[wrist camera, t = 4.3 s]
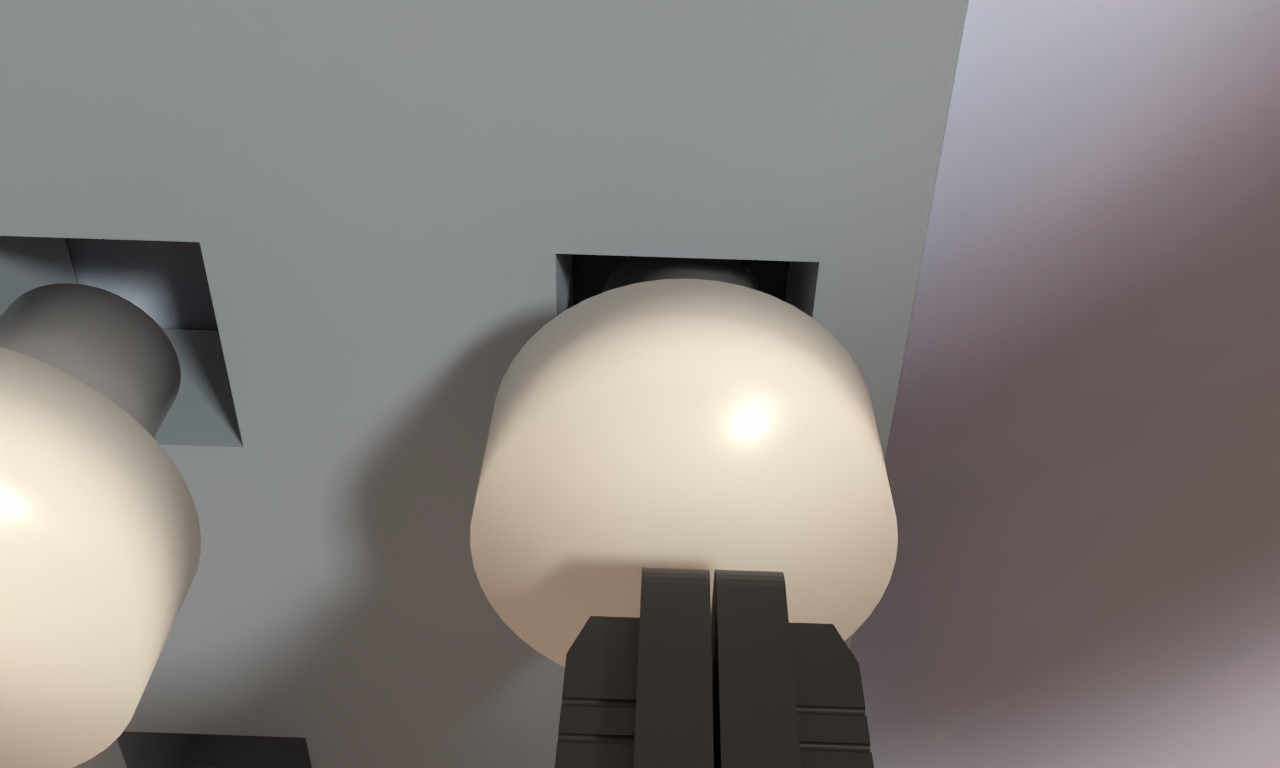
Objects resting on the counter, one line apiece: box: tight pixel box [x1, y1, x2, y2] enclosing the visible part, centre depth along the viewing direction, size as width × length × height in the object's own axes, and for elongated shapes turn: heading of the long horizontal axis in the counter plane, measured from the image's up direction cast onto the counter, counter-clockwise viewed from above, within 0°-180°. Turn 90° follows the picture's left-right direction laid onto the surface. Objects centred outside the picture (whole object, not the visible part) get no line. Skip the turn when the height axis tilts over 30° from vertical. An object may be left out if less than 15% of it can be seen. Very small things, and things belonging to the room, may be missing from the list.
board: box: [0, 0, 969, 768], centre depth 21 cm, size 22×22×3 cm
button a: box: [470, 256, 898, 667], centre depth 16 cm, size 5×5×5 cm
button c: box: [0, 283, 201, 768], centre depth 15 cm, size 5×5×5 cm
